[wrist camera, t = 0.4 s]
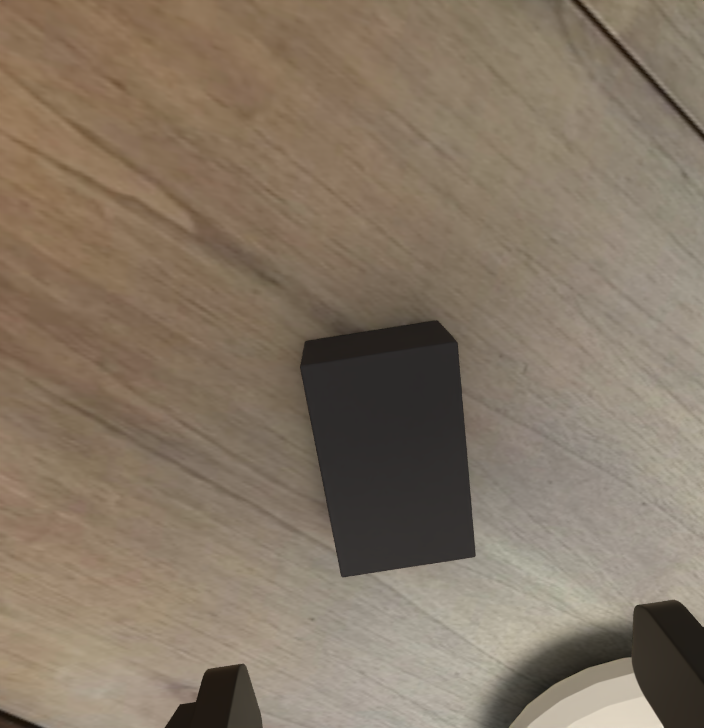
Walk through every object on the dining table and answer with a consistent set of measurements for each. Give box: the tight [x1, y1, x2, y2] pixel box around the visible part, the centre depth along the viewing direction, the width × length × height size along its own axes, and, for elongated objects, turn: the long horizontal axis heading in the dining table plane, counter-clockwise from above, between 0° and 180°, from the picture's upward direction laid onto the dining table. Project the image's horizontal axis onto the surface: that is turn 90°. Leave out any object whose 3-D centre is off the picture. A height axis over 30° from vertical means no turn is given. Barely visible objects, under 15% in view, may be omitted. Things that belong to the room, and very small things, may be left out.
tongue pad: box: [300, 321, 476, 577], centre depth 21 cm, size 10×6×4 cm, turn 9°
